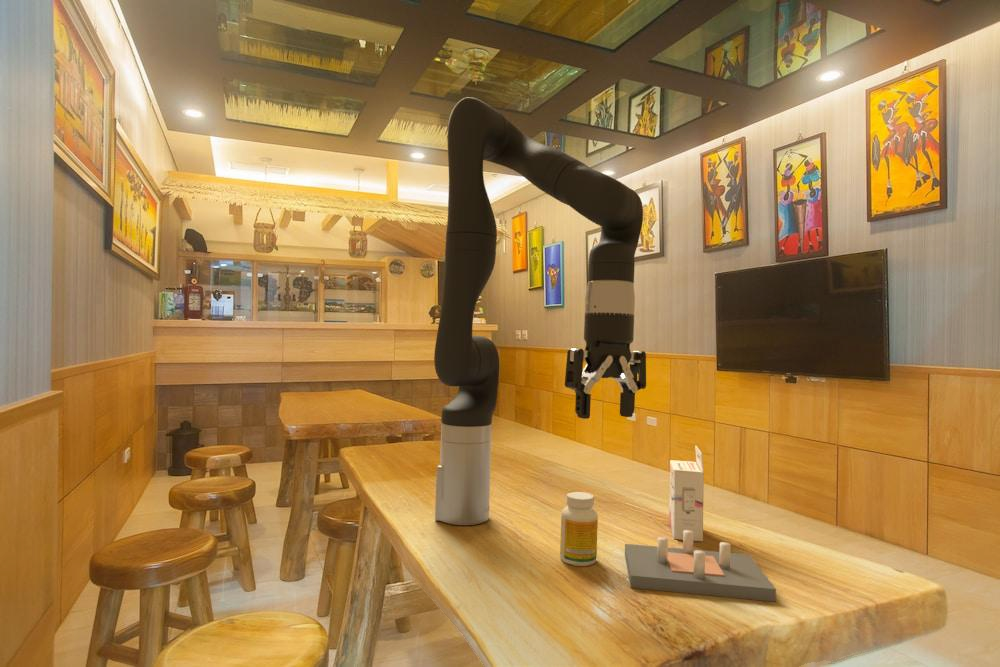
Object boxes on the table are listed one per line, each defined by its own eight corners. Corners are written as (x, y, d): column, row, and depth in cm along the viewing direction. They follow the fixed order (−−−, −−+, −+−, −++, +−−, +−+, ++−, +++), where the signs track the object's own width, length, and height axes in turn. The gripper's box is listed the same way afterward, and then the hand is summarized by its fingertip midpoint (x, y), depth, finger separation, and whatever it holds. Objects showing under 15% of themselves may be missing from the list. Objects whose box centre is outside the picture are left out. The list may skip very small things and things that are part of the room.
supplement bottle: (554, 555, 83) (555, 491, 83) (585, 551, 85) (587, 489, 85) (570, 569, 78) (572, 501, 78) (603, 565, 80) (605, 498, 80)
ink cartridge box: (667, 523, 100) (669, 443, 101) (695, 526, 99) (697, 444, 100) (672, 539, 92) (674, 451, 92) (703, 542, 91) (705, 453, 91)
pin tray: (630, 587, 73) (631, 551, 73) (624, 554, 84) (625, 522, 85) (775, 601, 70) (776, 563, 70) (748, 565, 82) (749, 532, 82)
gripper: (588, 308, 78) (584, 422, 78) (660, 314, 85) (657, 419, 85) (557, 309, 84) (553, 415, 84) (627, 315, 91) (623, 412, 91)
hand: (605, 417), depth 84 cm, fingers open, 8 cm apart
